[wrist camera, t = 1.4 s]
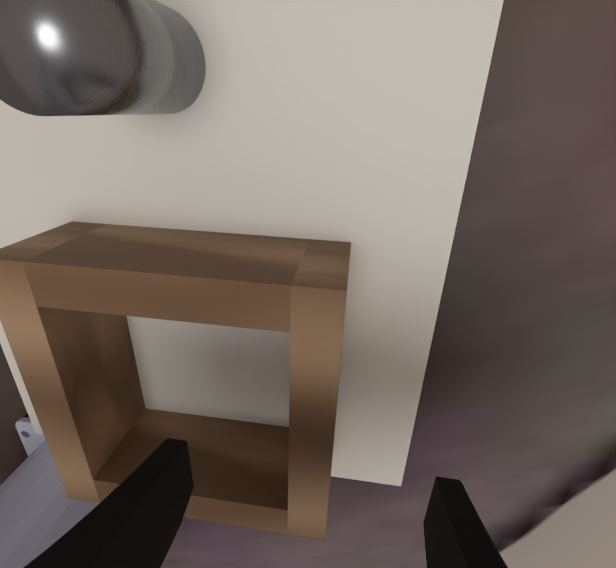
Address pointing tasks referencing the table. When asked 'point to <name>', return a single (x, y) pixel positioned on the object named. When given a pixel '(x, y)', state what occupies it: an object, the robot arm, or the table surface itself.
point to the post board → (257, 174)
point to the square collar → (187, 308)
